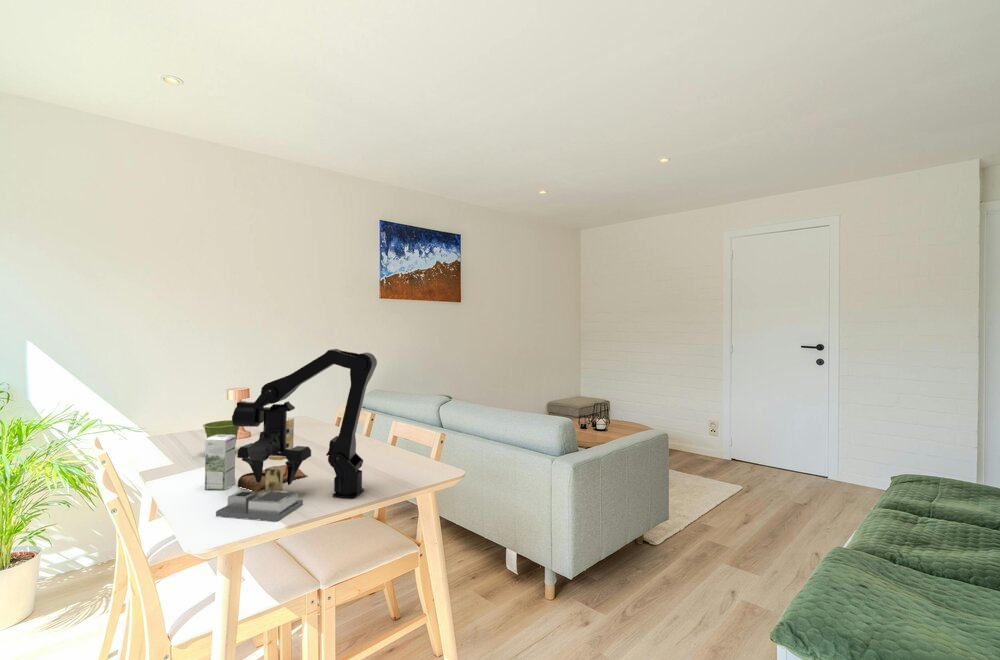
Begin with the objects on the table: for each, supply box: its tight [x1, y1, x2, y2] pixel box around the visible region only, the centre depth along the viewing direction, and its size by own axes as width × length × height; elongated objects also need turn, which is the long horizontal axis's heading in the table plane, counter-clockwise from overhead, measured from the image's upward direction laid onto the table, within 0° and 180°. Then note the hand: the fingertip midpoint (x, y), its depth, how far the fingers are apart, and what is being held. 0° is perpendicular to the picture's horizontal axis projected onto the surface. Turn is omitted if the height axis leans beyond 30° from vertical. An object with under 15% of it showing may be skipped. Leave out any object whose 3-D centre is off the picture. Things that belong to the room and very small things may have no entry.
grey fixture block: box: [215, 489, 304, 522], centre depth 117 cm, size 16×11×4 cm
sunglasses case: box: [237, 464, 308, 492], centre depth 139 cm, size 18×7×7 cm, turn 150°
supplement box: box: [268, 417, 295, 460], centre depth 165 cm, size 8×5×13 cm, turn 178°
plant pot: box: [202, 419, 240, 446], centre depth 166 cm, size 12×12×11 cm
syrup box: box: [204, 435, 237, 491], centre depth 133 cm, size 6×6×14 cm
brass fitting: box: [264, 465, 284, 493], centre depth 129 cm, size 4×4×7 cm
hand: (274, 483), depth 129 cm, fingers open, 9 cm apart
